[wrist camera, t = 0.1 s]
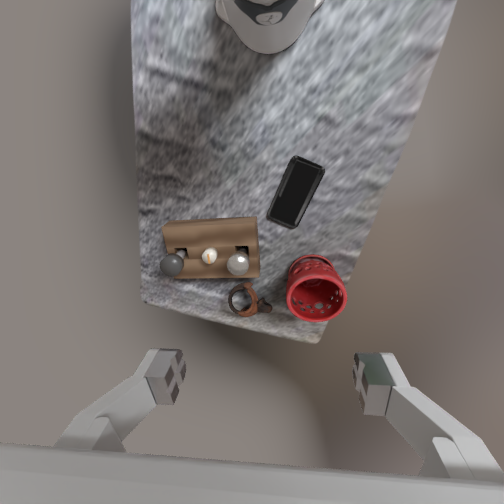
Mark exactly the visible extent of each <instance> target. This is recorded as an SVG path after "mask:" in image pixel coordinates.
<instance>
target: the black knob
mask: <svg viewBox="0 0 504 504" xmlns="http://www.w3.org/2000/svg"><path fill="white" fill-rule="evenodd" d="M185 256H186V253H185V251H184V250H178V251H177V253H176V254H175V253H170V254H168V255H167V256H166V257H165V258H164V259H163V260H162V261H161V262H160V269H161V271H162V272H163V273H164V274H166V275H167V276H172V277H173V276H177V275H178V274H179V273H180V271H181V270H182V269H183V267H184V260H183V259H184V258H185Z"/></svg>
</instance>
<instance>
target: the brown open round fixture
mask: <svg viewBox="0 0 504 504" xmlns="http://www.w3.org/2000/svg"><path fill="white" fill-rule="evenodd" d="M252 285H253V283H251V282H246V283H241V284H239V285H237V286H235V287H234V288H233V290H232V291H231V293H230V295H229V298H228V303H229V306H230V308H231V310H232V311H233V312H235V313H237V314H239V315H240V316H243V317H249V316H252V315H255V314H256V313H257V312H267V313H270V312H271V311H272V306H271V304H269V303H268V302H266V301H265V300H264V298H262V300H260V301H259V302H258V304H257V301H258V298H257V295H256V293H255V291H254V290H253V289H252V288H251V286H252ZM244 288H245V289H247V292H248V293H249V294H250V296H251V299H252V304H251V306H250V308H249V309H246V308H243V309H242V310H241V311H238V310H236V309H235V308H234V306H233V304H232V297H233V294H234V293H235V292H236V291H238V290H244Z"/></svg>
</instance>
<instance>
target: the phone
mask: <svg viewBox="0 0 504 504" xmlns="http://www.w3.org/2000/svg"><path fill="white" fill-rule="evenodd" d="M324 173H325V169H324V168H323V167H322V166H320V165H318V164H316V163H313V162H311V161H309V160H306V159H304V158H302V157H299V156H293V157H292V159H291V161H290V163H289V164H288V167H287V169H286V171H285V174H284V175H283V179H282V181H281V183H280V186H279V188H278V190H277V193H276V195H275V197H274V200H273V202H272V204H271V206H270V209H269V211H268V218H269V219H271V220H274V221H276V222H279V223H281V224H283V225H286V226H288V227H291V228H296V227H297V226H298V224H299V223H300V221H301V219H302V217H303V215H304V213H305V211H306V209H307V207H308V205H309V203H310V201H311V199H312V197H313V195H314V193H315V191H316V189H317V187H318V185H319V183H320V181H321V179H322V177H323V175H324Z"/></svg>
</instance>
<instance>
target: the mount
mask: <svg viewBox="0 0 504 504" xmlns="http://www.w3.org/2000/svg"><path fill="white" fill-rule="evenodd" d="M161 228H162V232H163V236H164V240H165V244H166V248H167V252H168V254H170V253H175V254H176V253H177V251H178V250H184V249H183V248H187V251H185V253H186V256H185V258H184V259H183V260H184V267H183V269H182V270H181V271H180V273H179V274H178V275H177V276H174V279H184V278H251V277H259V273H260V256H259V242H258V228H257V217H238V218H216V219H195V220H173V221H169V222H168V223H166V224H165V225H164V226H162V227H161ZM239 246H248V247H249V249H246V251H247V255H248V257H249V259H250V264H249V268H248V271H247V272H246V273H245V274H243V275H234V274H232V273H231V272H230V271H229V270H228V268H227V262H228V260H229V257H230V255H231V254H232V253H234V252H237V251H238V249H239ZM208 247H214V248H215V249H216V250H217V251H218V256H217V258H216V260H215V261H214V262H213V263H211V264H208V263H205V262H204V261H203V259H202V254H203V253H204V251H205V250H206V248H208Z"/></svg>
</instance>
